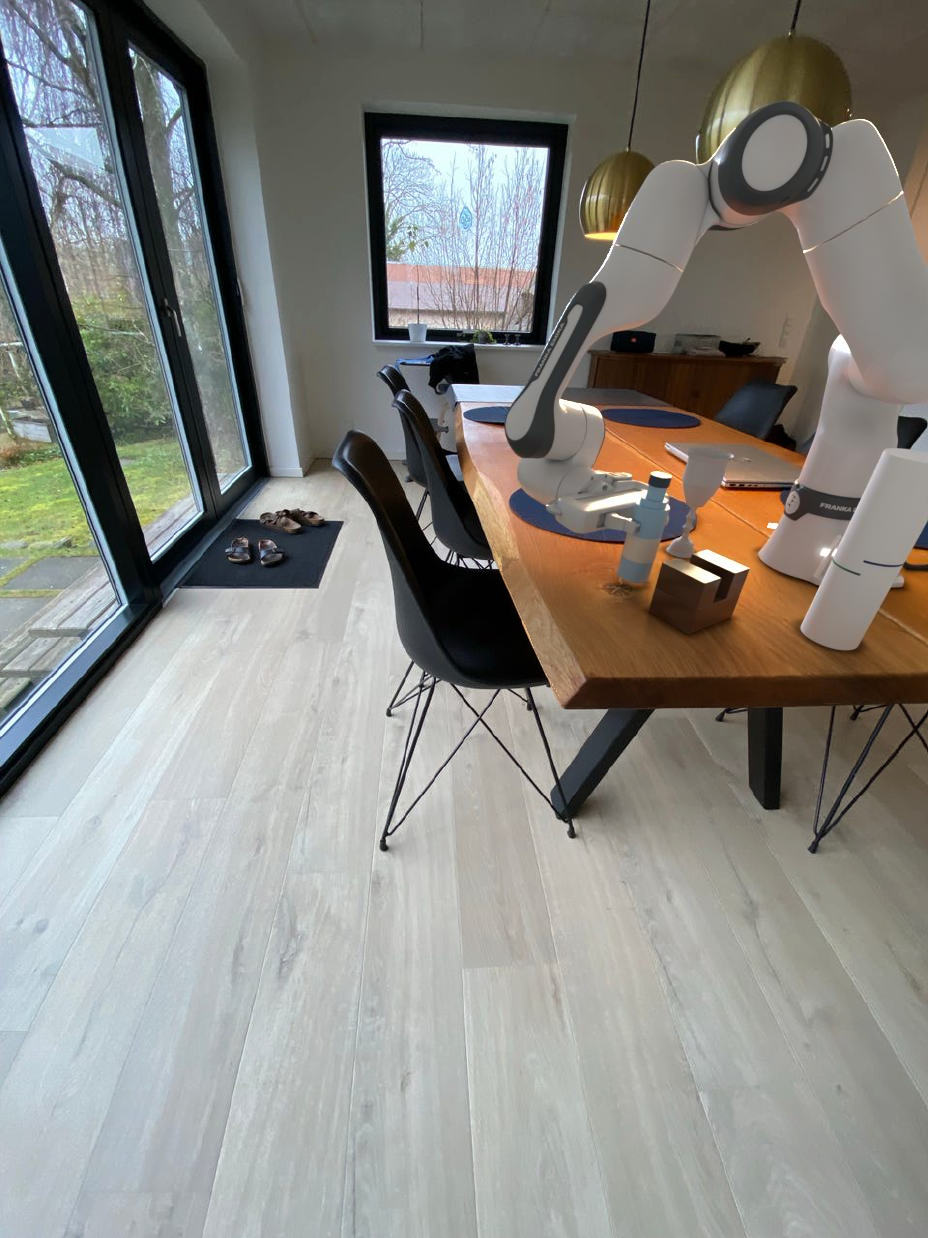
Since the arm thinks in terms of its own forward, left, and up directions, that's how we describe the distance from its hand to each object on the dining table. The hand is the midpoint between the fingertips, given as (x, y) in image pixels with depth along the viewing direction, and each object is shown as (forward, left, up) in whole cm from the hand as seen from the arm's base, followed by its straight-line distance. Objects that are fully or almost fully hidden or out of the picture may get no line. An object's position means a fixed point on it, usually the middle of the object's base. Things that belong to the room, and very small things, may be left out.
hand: (651, 525), depth 78 cm
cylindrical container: (-24, +12, -10) cm, 29 cm away
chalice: (-11, -14, -10) cm, 21 cm away
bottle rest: (-6, +8, -10) cm, 14 cm away
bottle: (-2, +3, -7) cm, 8 cm away
